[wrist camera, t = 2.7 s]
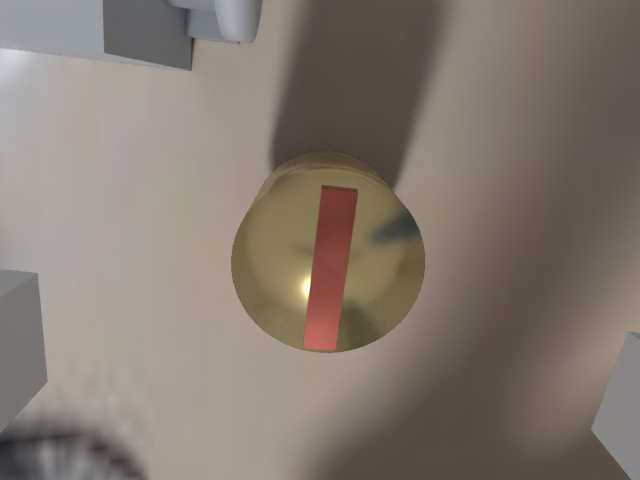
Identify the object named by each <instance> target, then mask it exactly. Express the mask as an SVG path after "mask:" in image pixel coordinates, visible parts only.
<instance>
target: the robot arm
mask: <svg viewBox="0 0 640 480" xmlns="http://www.w3.org/2000/svg"><path fill="white" fill-rule="evenodd" d="M47 382H48V381H47V370H46V359H45V348H44V337H43V326H42V315H41V305H40V294H39V283H38V273H32V272H22V271H12V270H2V269H0V433H1V432H2V431H3V430H4V429H5V428H6V427H7V426H8V424H9V423H10V422H11V421H12V420H13V419H14V418H15V417H16V416H17V415H18V414H19V412H20V411H21V410H22V409H23V408H24V407H25V406H26V405H27V404H28V403H29V401H30V400H31V399H32V398H33V397H34V396H35V395H36V394H37V393H38V392H39V391H40V389H41V388H42V387H43V386H44V385H45V384H46V383H47ZM591 431H592V432H593V433H594V434H595V436H596V437H597V438H598V439H599V440H600V442H601V443H602V444H603V445H604V447H605V448H606V449H607V450H608V452H609V453H610V454H611V455H612V456H613V458H614V459H615V460H616V461H617V463H618V464H619V465H620V466H621V468H622V469H623V470H624V471H625V472H626V474H627V475H628V476H629V477H630V479H631V480H640V333H634V332H628V333H627V336H626V338H625V341H624V344H623V346H622V349H621V352H620V354H619V357H618V360H617V362H616V365H615V367H614V370H613V373H612V375H611V378H610V381H609V383H608V386H607V388H606V391H605V394H604V396H603V399H602V402H601V404H600V407H599V409H598V412H597V415H596V417H595V420H594V423H593V425H592V428H591Z"/></svg>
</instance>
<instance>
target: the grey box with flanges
mask: <svg viewBox="0 0 640 480" xmlns="http://www.w3.org/2000/svg"><path fill="white" fill-rule="evenodd" d="M261 8H262V0H0V48H8V49H16V50H24V51H32V52H41V53H49V54H57V55H65V56H73V57H81V58H89V59H98V60H106V61H114V62H122V63H130V64H138V65H146V66H155V67H163V68H171V69H179V70H187V71H191V48H192V38H196V39H204V40H212V41H220V42H228V43H236V44H240V42H246V43H252V42H253V41H254V40H255V37H256V34H257V30H258V26H259V21H260V15H261Z"/></svg>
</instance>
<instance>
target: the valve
mask: <svg viewBox="0 0 640 480" xmlns="http://www.w3.org/2000/svg"><path fill="white" fill-rule="evenodd" d="M231 270H232V277H233V283H234V286H235V289H236V293H237V295H238V297H239V299H240V302H241V304H242V305H243V307H244V309H245V310H246V312H247V313H248V315H249V316H250V317H251V318H252V319H253V321H254V322H255V323H256V324H257V325H258V326H259V327H260V328H261V329H262V330H264V331H265V332H266V333H268V334H269V335H270V336H272V337H273V338H275V339H277V340H279V341H281V342H282V343H284V344H287V345H289V346H292V347H294V348H298V349H302V350H305V351H311V352H320V353H333V352H343V351H348V350H353V349H356V348H359V347H363V346H365V345H367V344H370V343H372V342H374V341H376V340H378V339H379V338H381V337H383V336H384V335H386V334H387V333H388V332H390V331H391V330H392V329H393V328H395V327H396V326H397V325H398V324H399V323H400V322H401V321H402V320H403V318H404V317H405V316H406V315H407V313H408V312H409V311H410V309H411V307H412V306H413V304H414V302H415V301H416V298H417V296H418V294H419V291H420V289H421V285H422V282H423V278H424V270H425V252H424V245H423V241H422V237H421V234H420V231H419V229H418V226H417V224H416V222H415V220H414V218H413V217H412V215H411V214H410V212H409V211H408V209H407V208H406V207H405V206H404V204H403V203H402V202H401V201H400V200H399V198H398V197H397V196H396V195H395V194H394V193H393V191H392V190H391V189H390V188H389V187H388V185H387V184H386V183H385V182H384V181H383V179H382V178H381V177H380V176H379V175H378V174H377V172H376V171H374V170H373V169H372V168H371V167H370V166H369V165H367V164H366V163H364V162H363V161H361V160H359V159H357V158H355V157H353V156H350V155H347V154H344V153H340V152H334V151H315V152H310V153H305V154H302V155H299V156H296V157H294V158H292V159H290V160H288V161H286V162H285V163H283V164H282V165H281V166H279V167H278V168H277V169H276V170H275V171H274V172H273V173H271V175H270V176H269V177H268V178H267V179H266V181H265V182H264V184H263V185H262V187H261V189H260V190H259V192H258V194H257V196H256V198H255V199H254V201H253V203H252V205H251V207H250V208H249V210H248V212H247V214H246V215H245V217H244V219H243V221H242V223H241V225H240V227H239V229H238V232H237V234H236V237H235V241H234V244H233V250H232V257H231Z"/></svg>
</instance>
